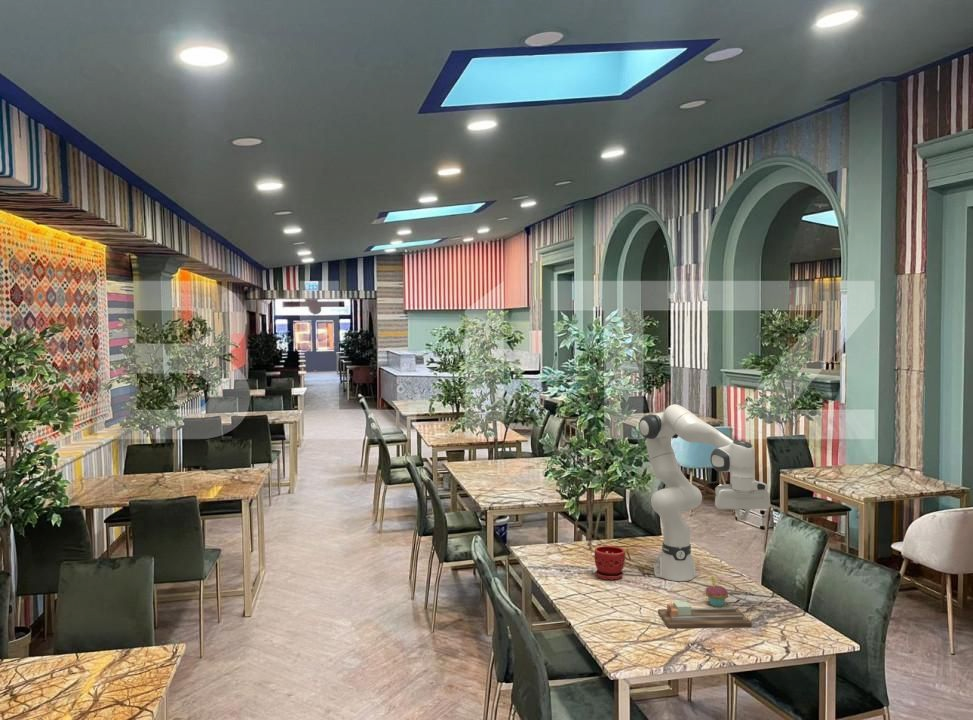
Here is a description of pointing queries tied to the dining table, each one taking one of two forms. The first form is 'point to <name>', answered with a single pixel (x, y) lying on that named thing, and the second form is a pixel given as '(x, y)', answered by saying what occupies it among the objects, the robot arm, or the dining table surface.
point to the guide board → (704, 618)
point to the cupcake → (716, 594)
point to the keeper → (683, 608)
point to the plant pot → (609, 562)
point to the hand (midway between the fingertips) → (742, 520)
